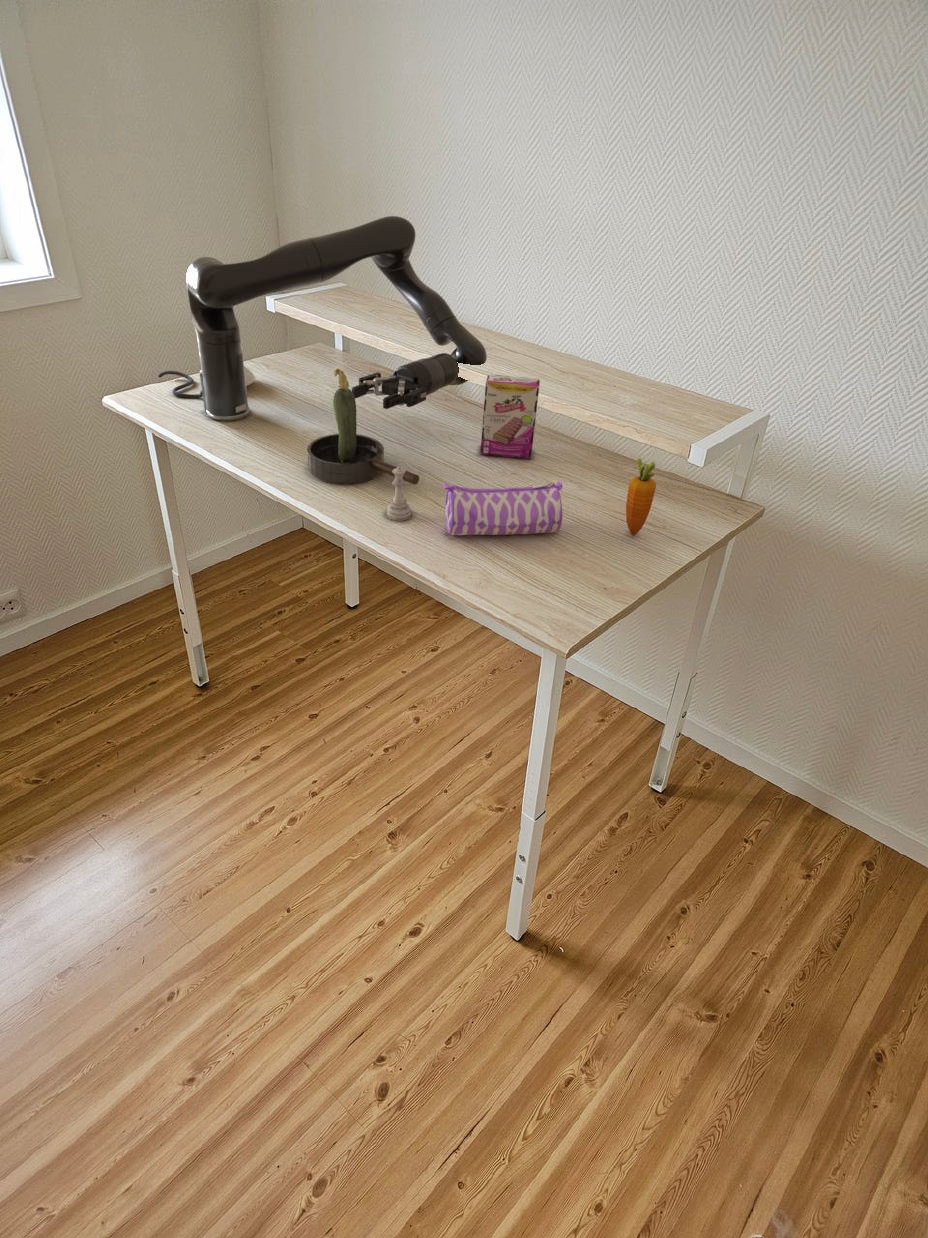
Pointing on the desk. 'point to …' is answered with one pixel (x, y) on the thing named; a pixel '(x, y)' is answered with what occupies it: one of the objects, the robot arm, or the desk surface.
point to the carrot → (640, 498)
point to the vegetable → (345, 418)
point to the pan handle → (389, 468)
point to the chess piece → (398, 498)
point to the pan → (331, 469)
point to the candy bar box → (509, 416)
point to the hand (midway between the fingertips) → (368, 398)
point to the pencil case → (503, 510)
